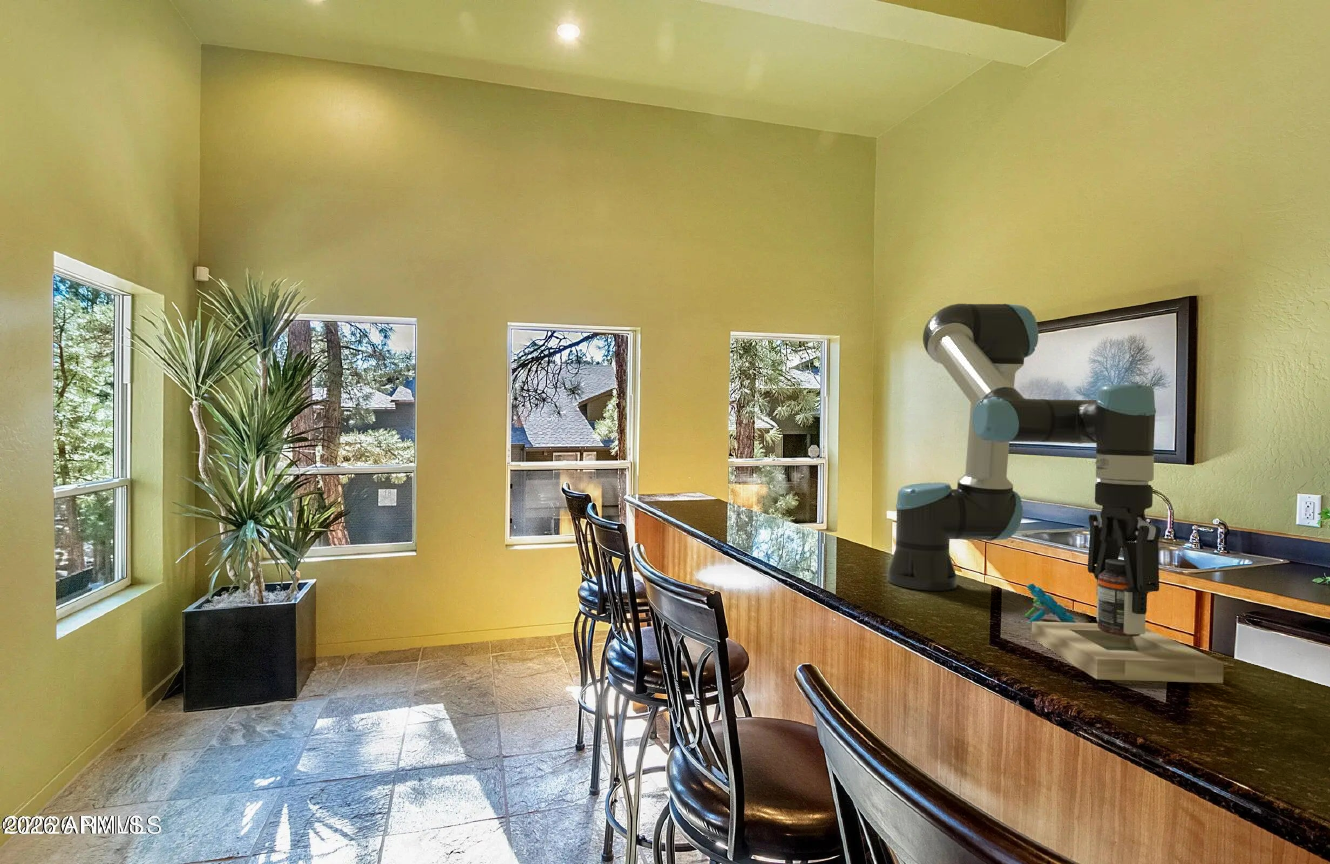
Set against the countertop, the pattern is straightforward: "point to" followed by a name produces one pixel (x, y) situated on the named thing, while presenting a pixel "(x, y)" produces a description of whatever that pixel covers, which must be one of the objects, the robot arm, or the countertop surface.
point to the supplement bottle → (1112, 598)
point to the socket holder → (1126, 654)
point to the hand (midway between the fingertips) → (1119, 626)
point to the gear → (1046, 606)
